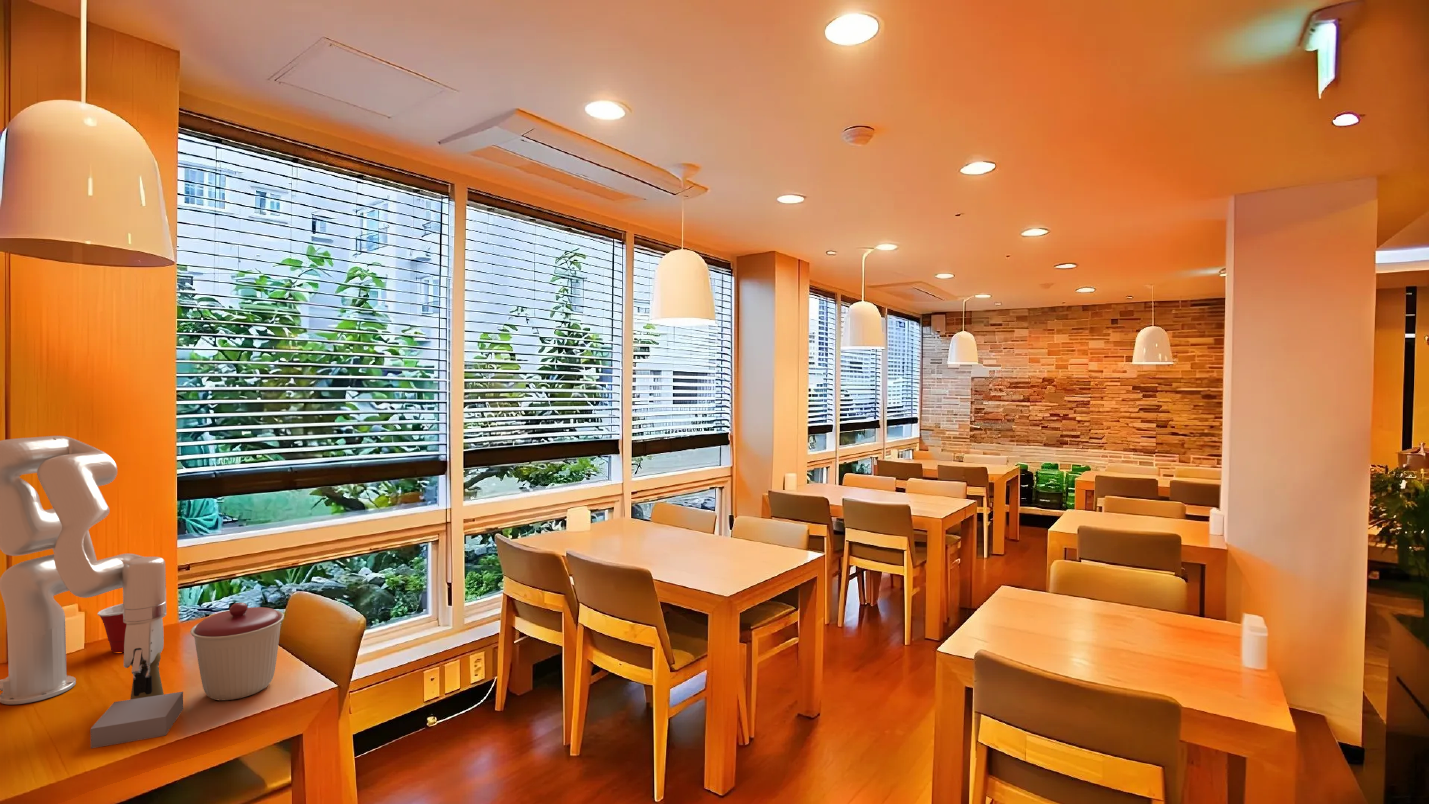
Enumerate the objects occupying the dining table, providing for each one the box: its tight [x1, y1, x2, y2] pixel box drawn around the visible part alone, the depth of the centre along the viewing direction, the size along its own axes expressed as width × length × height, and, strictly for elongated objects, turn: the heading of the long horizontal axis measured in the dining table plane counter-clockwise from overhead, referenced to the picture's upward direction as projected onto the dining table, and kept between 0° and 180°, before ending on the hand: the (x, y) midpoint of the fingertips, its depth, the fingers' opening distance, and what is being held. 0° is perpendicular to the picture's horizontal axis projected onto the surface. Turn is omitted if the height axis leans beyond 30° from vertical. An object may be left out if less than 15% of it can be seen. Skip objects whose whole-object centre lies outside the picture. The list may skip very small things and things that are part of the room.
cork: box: [129, 652, 165, 700], centre depth 153 cm, size 6×6×11 cm
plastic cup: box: [97, 603, 127, 652], centre depth 180 cm, size 11×11×12 cm
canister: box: [190, 602, 285, 701], centre depth 158 cm, size 18×18×21 cm
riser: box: [90, 691, 184, 749], centre depth 141 cm, size 12×12×4 cm
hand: (146, 689), depth 153 cm, fingers closed on cork, 4 cm apart
